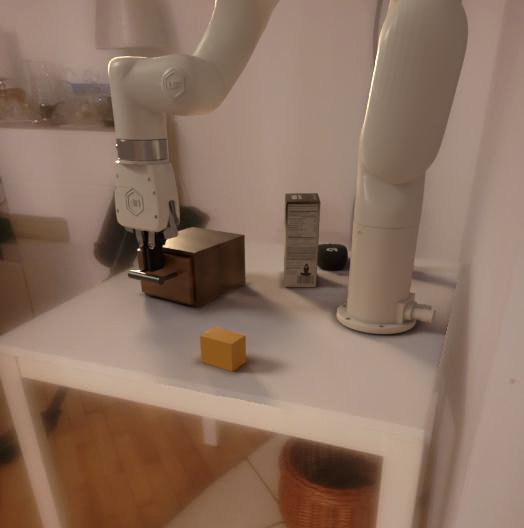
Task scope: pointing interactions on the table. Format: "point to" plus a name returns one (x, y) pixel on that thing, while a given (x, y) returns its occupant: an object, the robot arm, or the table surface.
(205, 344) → the orange block
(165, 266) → the drawer
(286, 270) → the coffee box
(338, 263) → the computer mouse
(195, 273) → the cabinet
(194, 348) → the table surface
